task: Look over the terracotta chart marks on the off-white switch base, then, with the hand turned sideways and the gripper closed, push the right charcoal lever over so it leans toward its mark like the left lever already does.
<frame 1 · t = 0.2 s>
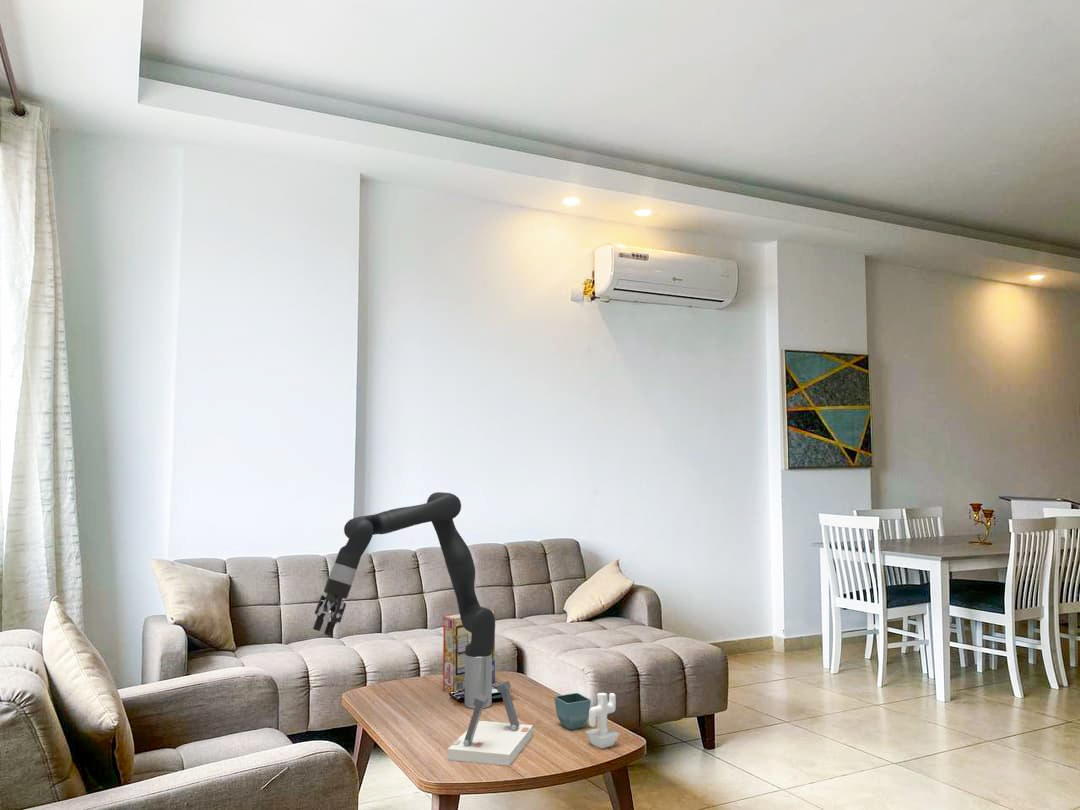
hand: (321, 632, 252), 31 cm above the table, tool tilted 20°, fingers open, 8 cm apart
lever 1: (474, 720, 236), point 10 cm above the table, hinge at -18.0°
flower pot: (572, 727, 261), on the table
lever 2: (509, 705, 250), point 10 cm above the table, hinge at 18.0°
board game box: (469, 688, 305), on the table
figurine: (602, 745, 245), on the table
switch base: (492, 747, 243), on the table
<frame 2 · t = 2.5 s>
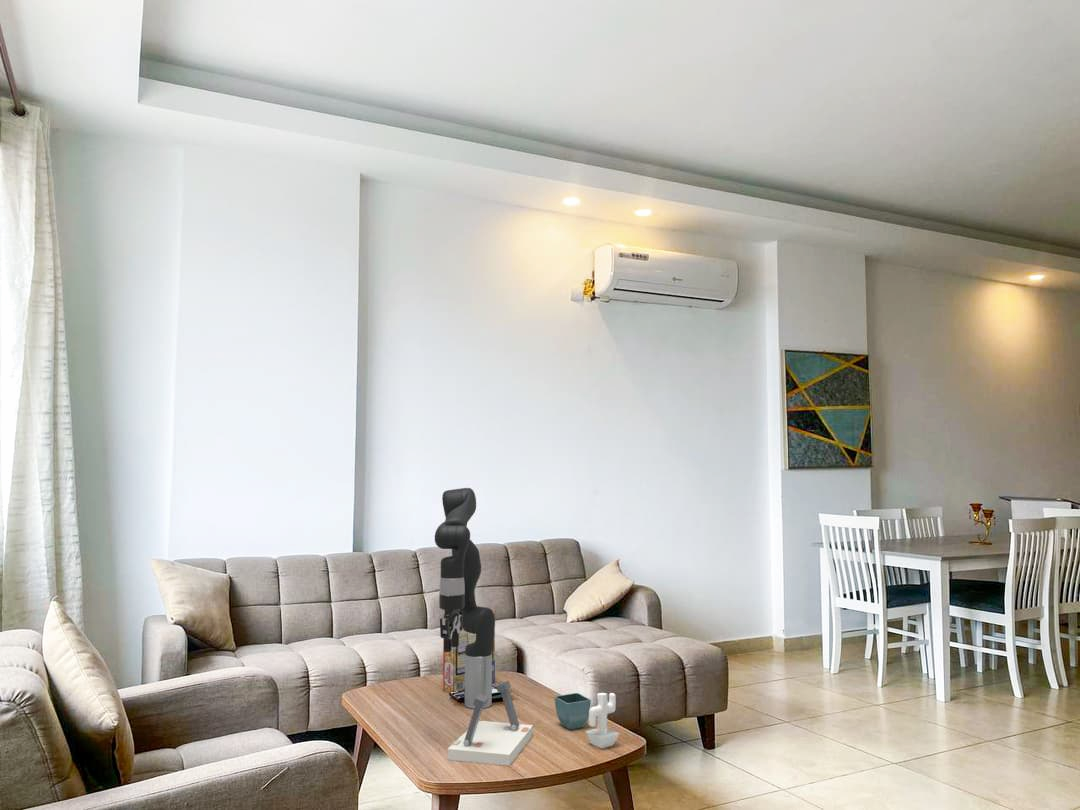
hand: (451, 649, 247), 28 cm above the table, tool pointing down, fingers open, 5 cm apart
nothing on the table moved.
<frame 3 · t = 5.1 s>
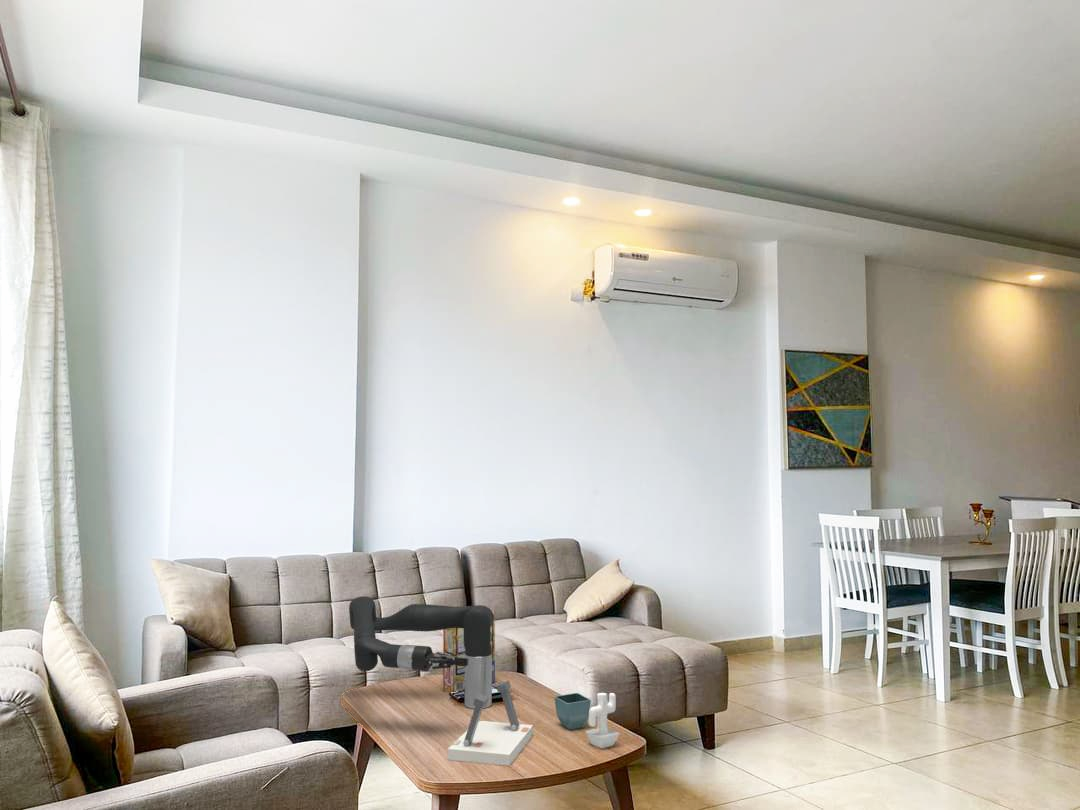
hand: (467, 662, 254), 22 cm above the table, tool horizontal, fingers closed
nothing on the table moved.
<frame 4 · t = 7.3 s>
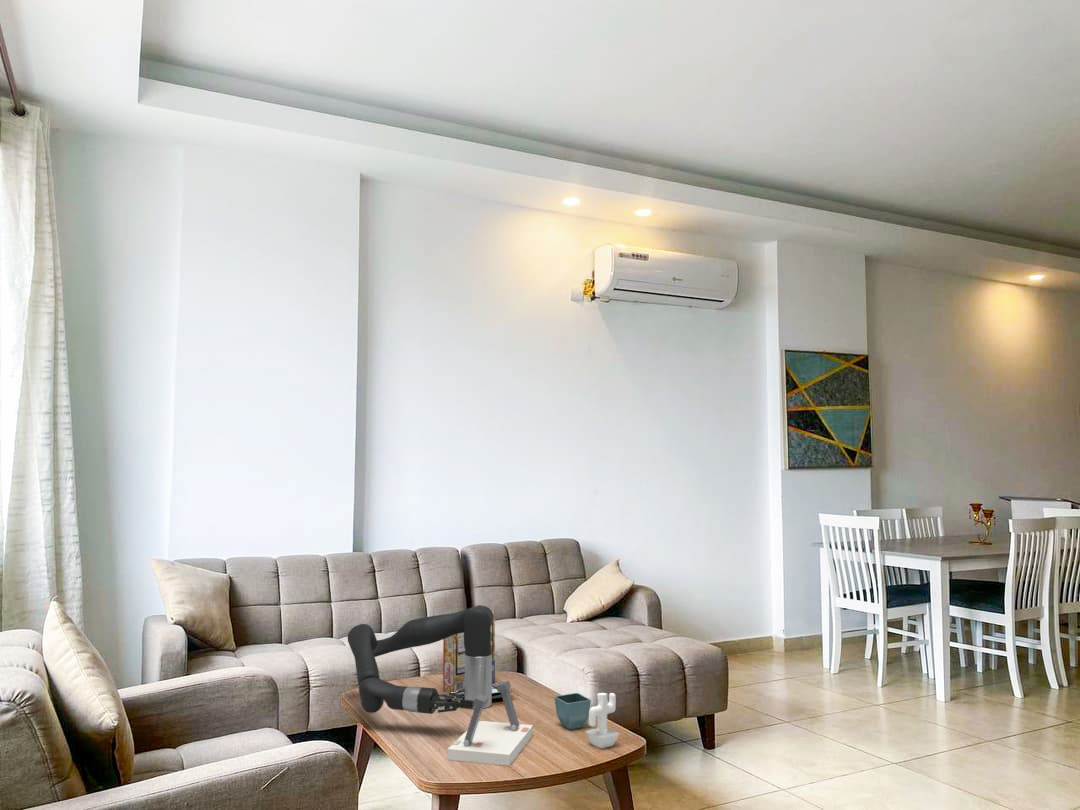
hand: (473, 704, 253), 9 cm above the table, tool horizontal, fingers closed
nothing on the table moved.
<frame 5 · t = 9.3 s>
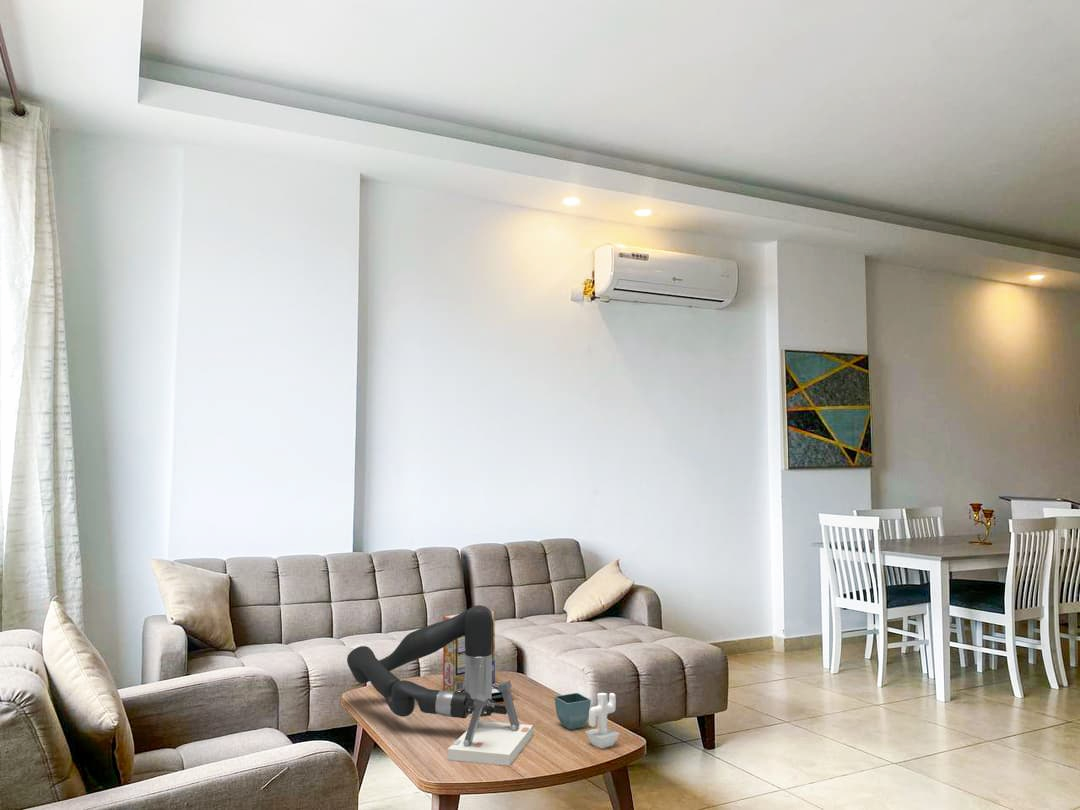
hand: (507, 710, 250), 9 cm above the table, tool horizontal, fingers closed
lever 2: (509, 705, 250), point 10 cm above the table, hinge at 16.6°, touching gripper
everything else where it was.
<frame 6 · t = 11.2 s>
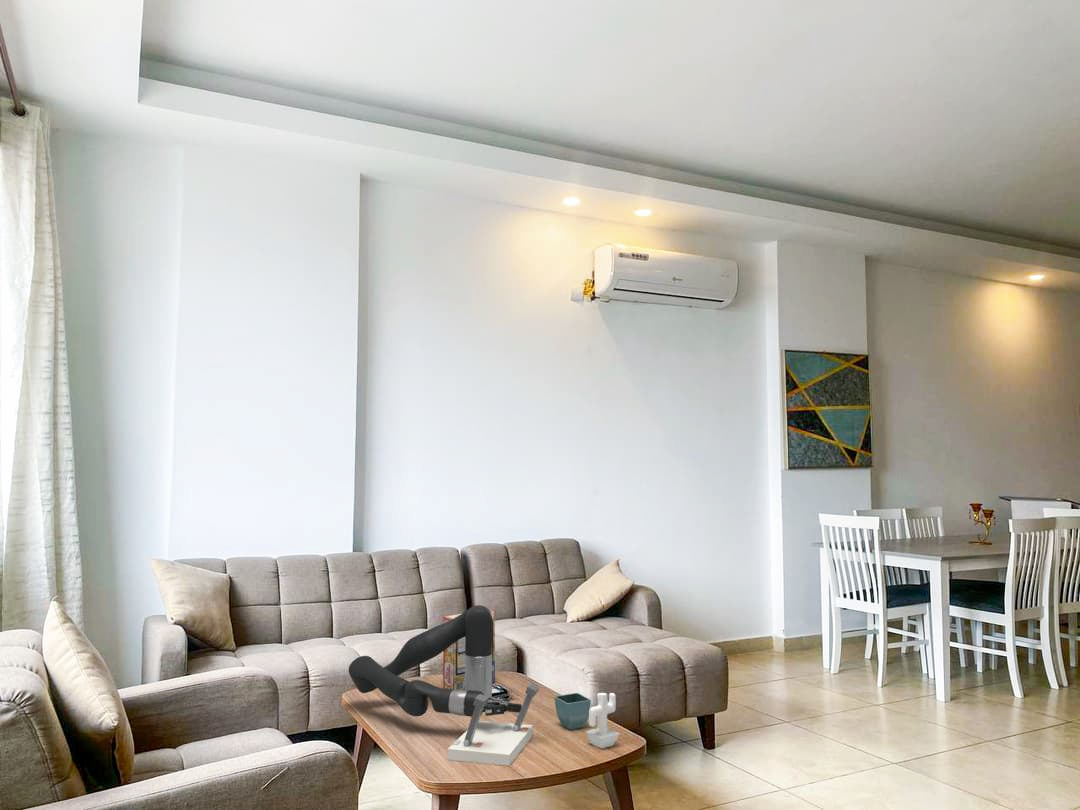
hand: (520, 708, 249), 9 cm above the table, tool horizontal, fingers closed
lever 2: (524, 707, 249), point 10 cm above the table, hinge at -22.7°, touching gripper
everything else where it was.
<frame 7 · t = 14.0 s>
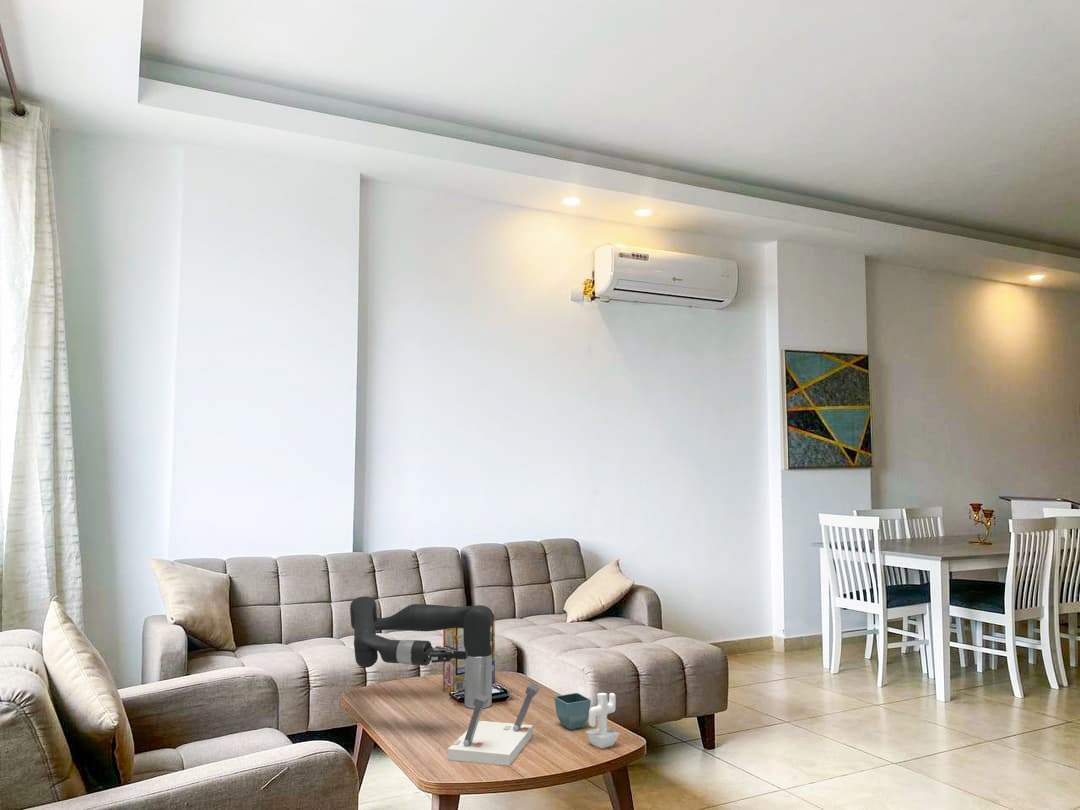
hand: (466, 655, 254), 24 cm above the table, tool horizontal, fingers closed
lever 2: (524, 707, 249), point 10 cm above the table, hinge at -22.7°
everything else where it was.
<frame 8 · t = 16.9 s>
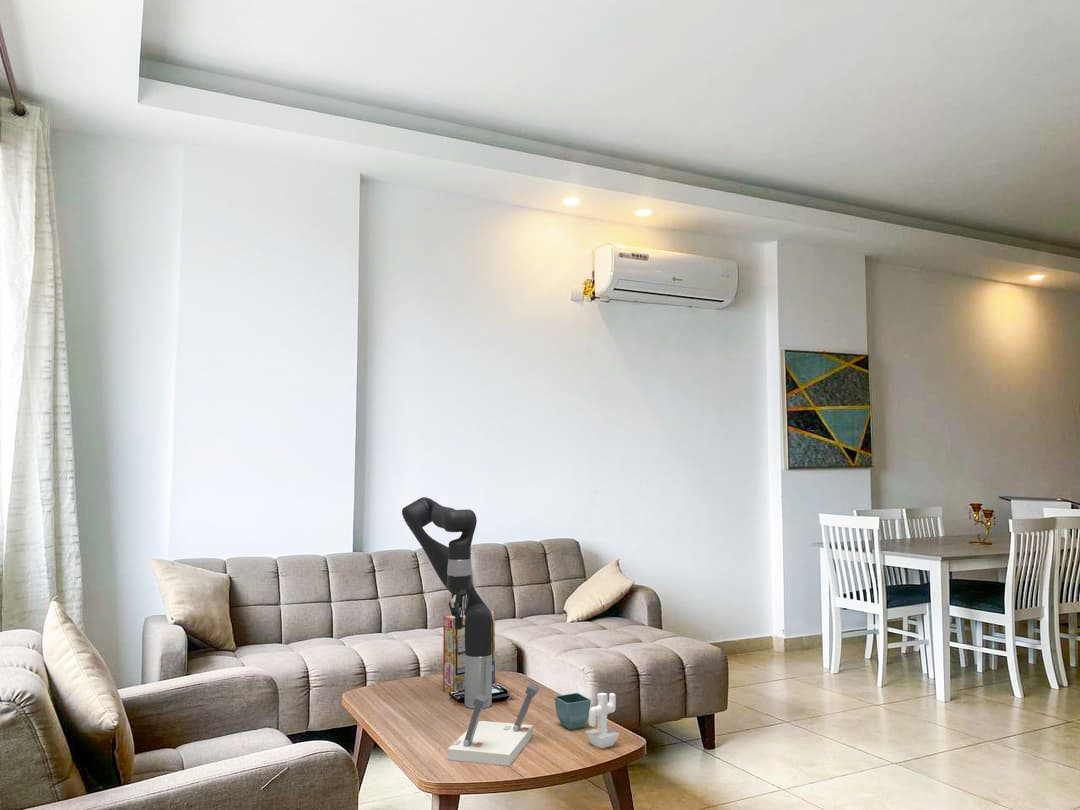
hand: (458, 628, 260), 31 cm above the table, tool pointing down, fingers closed
nothing on the table moved.
at the end: lever 2 at -23° (first picture: +18°); lever 1 at -18° (first picture: -18°) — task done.
